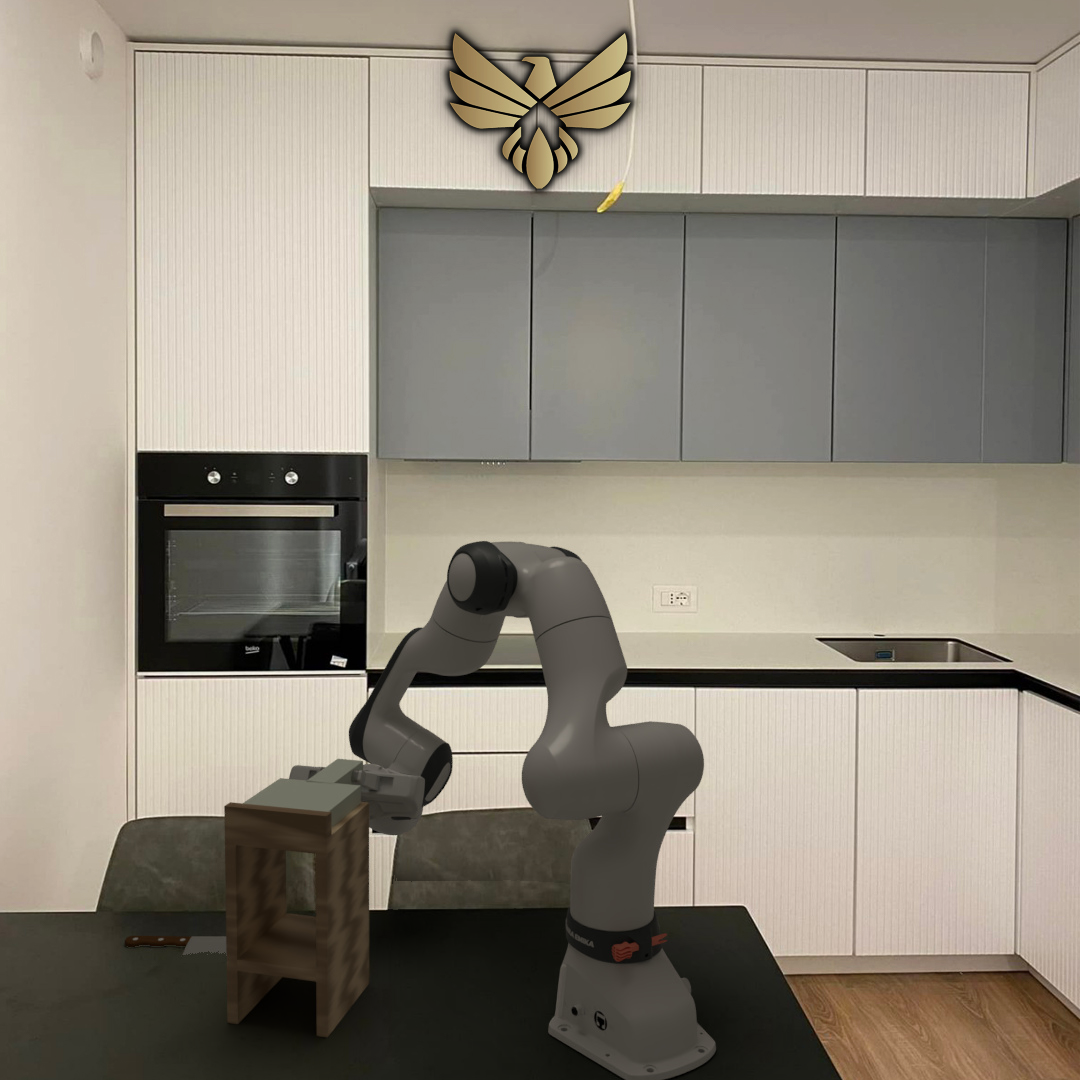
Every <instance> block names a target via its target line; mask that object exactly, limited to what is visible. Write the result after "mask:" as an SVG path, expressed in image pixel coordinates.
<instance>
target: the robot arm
mask: <svg viewBox="0 0 1080 1080" xmlns="http://www.w3.org/2000/svg"><path fill="white" fill-rule="evenodd" d="M506 617H512V618H515V619H516V618H518V619H523V618H525V619H527V618H528V619H529V622H530V626H531V629H532V634H533V638H534V643H535V646H536V649H537V652H538V653H537V654H538V657H539V660H540V664H541V669H542V672H543V679H544V682H545V687H546V692H547V712H546V718H545V722H544V726H543V728H542V731H541V733H540V735H539V737H538V738H537V739H536V742H534V744H533V745H532V746H531V747H530V749H529V750H528V752H527V753H526V756H525V758H524V760H523V765H522V768H521V769H522V770H521V785H522V786H521V787H522V790H523V793H524V796H525V798H526V800H527V802H528V803H529V806H530V807H531V808H532V809H533V810H534V811H535V812H536V813H537V814H538V815H539V816H540V817H542V818H543V819H546V820H557V821H558V820H559V821H561V820H562V821H583V820H587V819H594V818H598V817H600V819H599V820H598V822H597V824H596V825H595V827H593V829H592V830H591V831H590V832H589V833H588V834H587V835H586V836H585V837H584V838H582V839H581V841H579V843H578V844H577V846H576V847H575V848H574V850H573V854H572V856H571V860H570V900H569V907H568V908H567V910H566V918H565V937H566V938H565V939H566V941H567V943H568V944H567V948H566V951H565V953H564V954H565V955H564V957H563V960H562V963H561V965H560V968H559V976H558V985H557V994H556V1004H555V1012H554V1016H552V1018H550V1019H551V1020H550V1021H549V1022H548V1029H547V1030H548V1031H547V1032H548V1034H549V1035H550V1036H552V1037H553V1038H555V1039H556V1040H558V1041H560V1042H562V1043H563V1044H565V1045H567V1046H569V1047H570V1048H571V1049H573V1050H575V1051H576V1052H579V1053H580V1054H582V1055H583V1056H585V1057H586V1058H588V1059H590V1060H591V1061H593V1062H595V1063H597V1065H600V1066H602V1067H603V1068H605V1069H606V1070H608V1071H610V1072H611V1073H613V1074H615V1075H616V1076H618V1077H620V1078H622V1079H623V1080H668V1079H671V1078H675V1077H676V1076H677V1077H678V1076H680V1075H682V1074H686V1073H687V1072H691V1071H692V1070H695V1069H696V1068H699V1067H701V1066H703V1065H704V1064H705V1063H707V1062H708V1061H709V1060H710V1059H711V1058H712V1057H713V1056H714V1055H715V1053H716V1051H717V1043H716V1041H715V1040H714V1039H713V1037H712V1036H710V1035H709V1034H708V1032H706V1030H705V1029H704V1028H703V1027H702V1025H700V1024H699V1023H698V1020H697V1010H696V1003H695V1000H694V998H693V995H692V986H691V982H690V981H689V979H688V978H687V977H680V975H679V973H678V972H677V970H676V968H675V967H674V966H673V963H672V961H670V959H669V957H668V956H667V954H666V952H665V951H664V949H663V945H664V943H666V942H667V941H668V940H667V939H664V938H665V937H667V936H668V934H667V933H661V929H660V923H659V919H658V915H657V912H656V911H655V895H656V894H655V893H656V878H657V877H656V876H657V866H658V865H657V864H658V860H659V855H660V851H661V847H662V844H663V841H664V839H665V836H666V834H667V831H668V830H669V827H670V824H671V823H672V821H673V819H674V817H675V815H676V814H677V812H678V810H679V809H680V808H681V806H682V805H683V803H684V802H685V801H686V800H687V798H688V797H689V796H691V795H692V794H693V793H694V792H695V791H696V790H697V789H698V788H699V786H700V784H701V782H702V779H703V776H704V770H705V759H704V758H705V757H704V753H703V749H702V746H701V743H700V742H699V740H698V739H697V737H696V736H695V734H694V733H693V732H692V731H691V730H690V729H689V728H688V727H687V726H686V725H683V724H680V723H673V722H666V721H665V722H664V721H652V720H651V721H644V722H643V721H642V722H636V723H629V724H623V725H617V726H616V725H615V726H610V723H609V721H608V716H607V715H608V714H607V703H608V702H609V701H611V700H612V699H613V698H614V697H615V696H616V695H618V693H619V692H620V691H621V690H622V689H623V686H624V685H625V682H626V680H627V676H628V666H627V661H626V659H625V655H624V653H623V650H622V647H621V644H620V641H619V636H618V634H617V631H616V628H615V627H616V626H615V624H614V622H613V617H612V615H611V612H610V609H609V607H608V604H607V601H606V599H605V596H604V595H603V592H602V590H601V587H600V586H599V584H598V581H597V580H596V578H595V576H594V574H593V572H592V570H591V569H590V568H589V566H588V565H587V564H586V563H585V562H584V561H583V559H581V557H580V556H579V555H578V554H576V553H575V552H573V551H571V550H569V549H567V548H563V547H560V546H544V545H541V544H532V543H526V542H522V541H493V542H491V541H489V540H488V541H487V540H486V541H485V540H481V541H474V542H470V543H465V544H464V545H461V546H460V547H459V548H457V549H456V551H455V552H454V553H453V555H452V557H451V559H450V562H449V563H448V567H447V573H446V581H445V583H444V585H443V586H442V588H441V590H440V593H439V595H438V597H437V600H436V602H435V605H434V607H433V610H432V613H431V616H430V618H429V620H428V621H427V623H425V625H424V626H423V627H416V628H413V629H412V630H410V631H409V632H408V633H406V635H404V637H403V638H402V639H401V641H400V642H399V643H398V645H397V647H396V649H395V650H394V651H393V653H392V655H391V656H390V658H389V660H388V661H387V664H386V666H385V667H384V669H383V671H382V673H381V674H380V677H379V678H378V680H377V681H376V683H375V686H374V687H373V690H371V693H370V694H369V697H368V698H367V700H366V701H365V703H364V705H363V706H362V707H361V708H360V710H359V711H358V713H357V714H356V715H355V717H354V719H353V720H352V721H351V724H350V725H349V729H348V740H349V741H348V742H349V747H350V750H351V753H352V754H353V755H355V756H356V757H357V758H359V759H362V761H364V762H366V763H363V770H353V771H352V775H353V776H352V777H351V782H353V783H354V785H360V786H361V802H366V803H369V829H371V830H372V831H376V833H377V832H378V833H379V834H384V835H388V836H400V835H404V834H406V833H408V832H409V831H411V830H412V829H414V828H415V827H416V826H417V825H418V823H419V822H420V820H421V818H422V815H423V811H424V807H426V806H428V805H429V804H431V803H432V802H434V801H435V800H436V798H438V796H439V795H440V794H441V793H442V791H443V790H444V789H445V787H446V785H447V784H448V782H449V780H450V778H451V776H452V773H453V765H454V764H453V762H454V761H453V760H454V759H453V749H452V747H451V745H450V743H449V742H446V741H445V740H444V739H442V738H441V737H440V736H438V735H437V734H435V733H434V732H432V731H431V730H429V729H427V728H425V727H424V726H422V725H420V723H417V721H415V720H413V719H411V718H410V717H409V716H407V715H406V714H405V713H404V712H403V710H402V708H401V706H400V703H401V701H402V699H403V697H404V696H405V693H406V692H407V690H408V688H409V687H410V685H411V683H412V681H413V679H414V677H415V675H416V674H417V673H418V672H420V673H421V672H422V673H429V674H434V675H438V676H447V677H459V676H464V675H468V674H469V675H470V674H471V673H474V672H476V671H479V669H481V668H482V667H483V666H484V665H486V664H487V662H488V661H489V660H490V658H491V656H492V654H493V653H494V650H495V648H496V645H497V642H498V639H499V637H500V634H501V631H502V628H503V626H504V622H505V619H506ZM324 768H325V766H309V765H301V764H300V765H299V764H296V765H293V766H292V768H291V769H290V772H289V776H288V779H295V780H306V781H307V780H308V779H310V778H311V777H313V776H314V775H315V774H317V773H318V772H320V771H321V770H323V769H324Z"/></svg>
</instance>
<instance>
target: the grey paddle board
mask: <svg viewBox="0 0 1080 1080" xmlns="http://www.w3.org/2000/svg"><path fill="white" fill-rule="evenodd" d="M363 765H364V760H359V759H358V760H356V759H346V758H345V759H344V758H337V759H336V760H334V761H332V762H331V763H330V764H328V765H326V767H325V766H324V767H325V768H324V769H323V770H321V771H320V772H318V773H317V774H315V775H314V776H313V777H311V778H310V779H308V780H307V781H306V780H295V779H289V778H281V777H280V778H278V779H276V780H275V781H274V782H272V783H271V784H269V785H268V786H266V787H265V788H263V789H262V790H260V791H259V792H257V793H255V795H253V796H251V797H250V798H248V799H247V800H245V801H244V802H242V803H243V804H253V805H263V806H274V807H284V808H294V809H304V810H314V811H325V812H331V828H332V827H333V826H335V825H336V824H337V823H338V822H339V821H341V820H342V819H343V818H344V817H345V816H346V815H348V814H349V813H350V812H351V811H352V810H353V809H355V808H356V807H357V806H358V805H359V804H361V786H360V785H354V783H353V782H351V777H352V776H353V775H352V771H353V770H363Z"/></svg>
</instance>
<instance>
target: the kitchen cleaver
mask: <svg viewBox="0 0 1080 1080" xmlns="http://www.w3.org/2000/svg"><path fill="white" fill-rule="evenodd" d="M125 945H126V946H128V947H135V946H139V945H150V946H164V945H176V946H186V947H185V948H184V950H183V952H182V955H186V954H187V955H188V954H190V953H191V954H192V953H193V954H195V953H196V954H197V953H199V952H200V953H201V952H203V953H204V952H208V951H209V952H210V953H211V952H212V953H214V952H215V953H216V952H218V951H219V952H218V953H219V954H220V953H221V954H222V953H224V952H225V953H226V935H225V936H223V935H222V936H215V935H213V936H211V935H210V936H205V935H204V936H203V935H202V936H201V935H199V936H197V935H195V936H193V935H189V936H178V935H176V936H175V935H129V936H127V937H126V938H125V939H124V946H125ZM126 946H125V947H126ZM128 947H127V948H128ZM212 953H211V954H212ZM225 953H224V954H225ZM191 954H190V955H191ZM182 955H181V956H182ZM207 955H208V954H207Z"/></svg>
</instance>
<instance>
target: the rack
mask: <svg viewBox="0 0 1080 1080" xmlns="http://www.w3.org/2000/svg"><path fill="white" fill-rule="evenodd" d="M243 803H244V802H229V803H226V804H225V805H224V807H223V809H224V812H223V815H224V869H225V870H224V872H225V874H224V876H225V878H224V879H225V881H224V882H225V884H224V885H225V886H224V887H225V936H226V956H227V963H226V998H227V999H226V1004H227V1006H226V1009H227V1010H226V1011H227V1012H226V1013H227V1014H226V1016H227V1020H226V1021H227V1024H234V1025H239V1024H240V1023H241V1022H242V1021H243V1020H244V1018H246V1017H247V1015H248V1014H249V1013H251V1011H252V1010H253V1009H254V1008H255V1007H256V1006H257V1005H258V1003H260V1001H261V1000H262V999H263V998H264V997H265V996H266V995H267V994H268V993H269V992H270V991H271V990H272V989H273V988H274V986H276V985H277V984H278V982H279V981H280V980H281V979H283V978H286V979H296V980H301V981H309V982H315V983H316V984H315V985H316V986H315V987H316V992H315V993H316V995H315V996H316V997H315V998H316V1008H315V1009H316V1011H315V1012H316V1037H321V1038H329V1036H330V1035H331V1033H333V1032H334V1030H335V1028H336V1027H337V1026H338V1025H339V1024H340V1022H341V1021H342V1020H343V1018H344V1017H345V1016H346V1014H347V1013H348V1011H350V1010H351V1008H352V1007H353V1005H354V1004H355V1002H356V1001H357V1000H358V999H359V997H360V996H361V995H362V994H363V992H364V991H365V990H366V988H367V987H368V986H369V984H370V827H369V803H366V802H361V804H359V805H358V806H357V807H356V808H355V809H353V810H352V811H351V812H350V813H349V814H348V815H346V816H345V817H344V818H343V819H342V820H341V821H339V822H338V823H337V824H336V825H335V826H333V827H332V828H331V812H325V811H314V810H304V809H294V808H284V807H274V806H263V805H253V804H243ZM287 852H296V853H305V854H311V855H313V854H314V855H315V916H312V915H304V914H295V913H287Z"/></svg>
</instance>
